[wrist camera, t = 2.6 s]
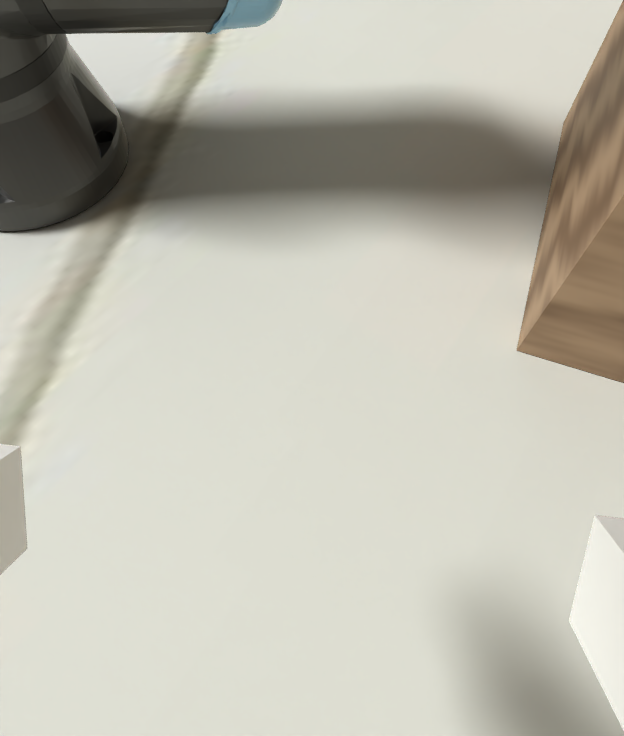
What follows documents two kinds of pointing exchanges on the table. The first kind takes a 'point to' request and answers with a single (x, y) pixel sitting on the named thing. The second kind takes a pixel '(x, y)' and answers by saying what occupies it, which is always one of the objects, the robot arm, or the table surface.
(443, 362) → the table surface
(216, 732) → the table surface
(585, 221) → the walnut stand
